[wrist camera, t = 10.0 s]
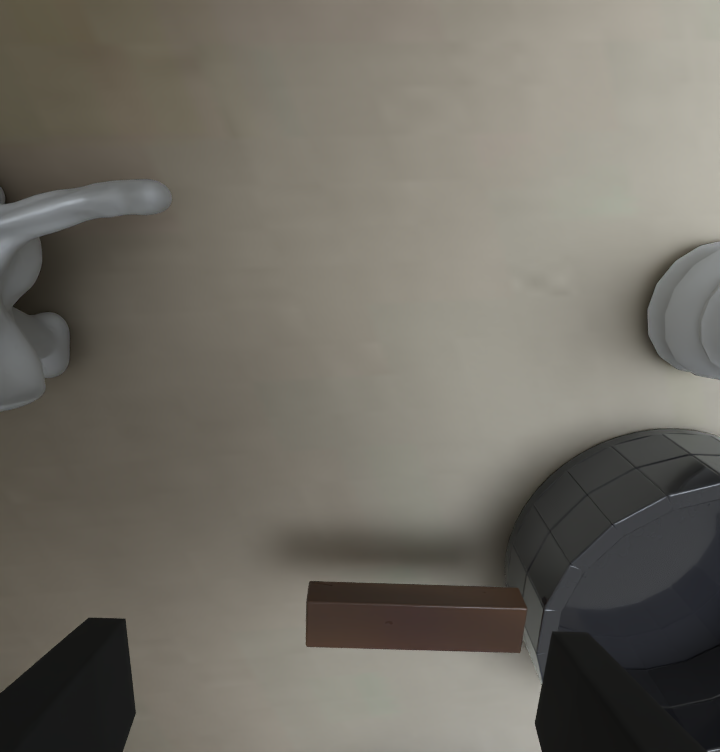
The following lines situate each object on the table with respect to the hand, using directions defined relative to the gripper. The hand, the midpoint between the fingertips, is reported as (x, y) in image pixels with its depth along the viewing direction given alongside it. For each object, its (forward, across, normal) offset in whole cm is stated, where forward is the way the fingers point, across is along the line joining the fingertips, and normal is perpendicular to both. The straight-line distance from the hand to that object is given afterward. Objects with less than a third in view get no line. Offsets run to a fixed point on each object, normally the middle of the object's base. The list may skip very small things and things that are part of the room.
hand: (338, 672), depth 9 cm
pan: (+10, -12, +5) cm, 17 cm away
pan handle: (+7, -2, +5) cm, 9 cm away
